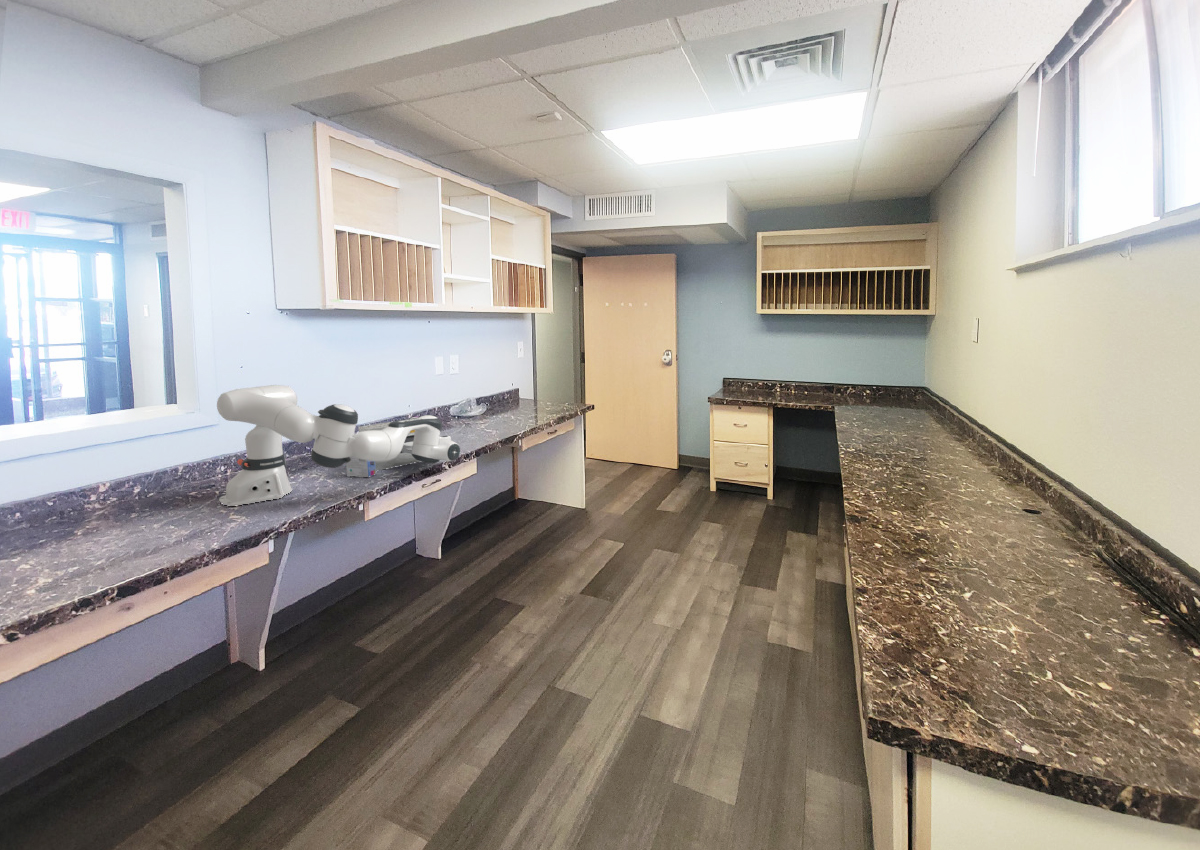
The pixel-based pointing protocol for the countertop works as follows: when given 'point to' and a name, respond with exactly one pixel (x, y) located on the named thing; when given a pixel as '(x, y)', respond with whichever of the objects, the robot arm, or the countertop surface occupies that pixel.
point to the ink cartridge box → (360, 467)
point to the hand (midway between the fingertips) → (416, 442)
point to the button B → (409, 439)
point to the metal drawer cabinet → (397, 461)
